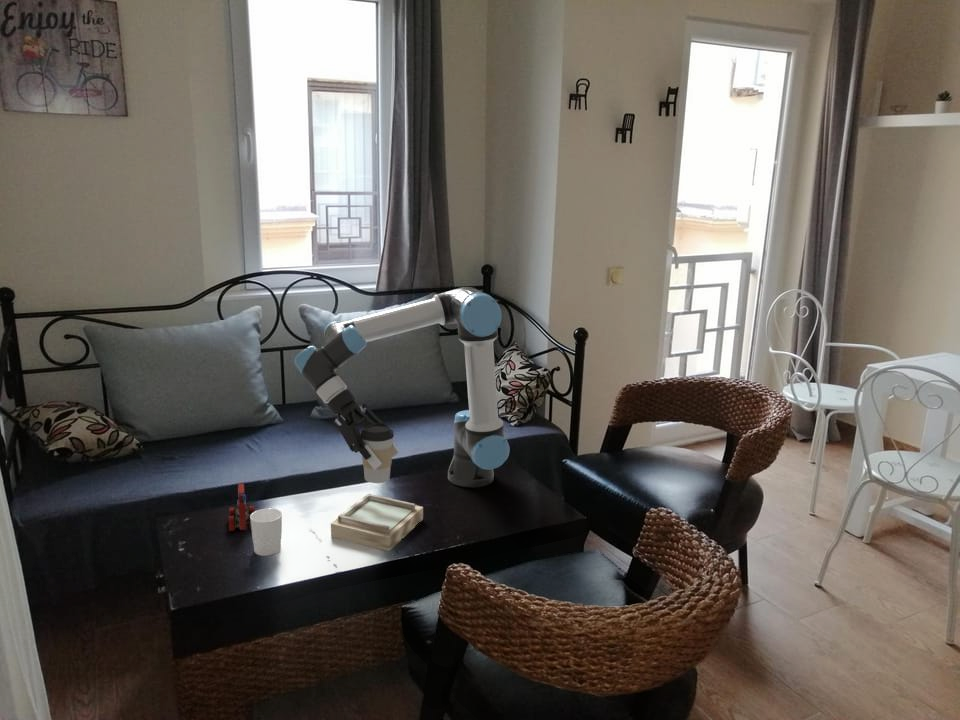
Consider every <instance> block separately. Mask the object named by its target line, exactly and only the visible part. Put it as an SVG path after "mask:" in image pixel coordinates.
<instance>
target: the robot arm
mask: <svg viewBox="0 0 960 720" xmlns="http://www.w3.org/2000/svg"><path fill="white" fill-rule="evenodd" d="M502 316H503V315H502V308H501V307H500V305H499V303H498V302H497V300H495V298H493V297H492V296H491V295H490V294H488V293H486V292H482V291H480V290H479V289H477V288H476V287H471V286H464V287H463V286H462V287H458V288H455V289H451V290H450V289H449V290H448V291H444V292H441V293H437V294H434V295H433V297H432V298H431V299H427V300H423V301H419V302H416V303H412V304H408V305H403V306H400V307H396V308H392V309H388V310H385V311H382V312H380V311H379V312H378V313H374V314H371V315H370V314H369V315H366V316H363V317H358V318H354V319H350V320H347V321H338V320H335V321H332V322H331V321H330V322H329V323H328V324H327V325H326V326H325V328H324V331H323V336H324V338H323V339H324V341H325V344H323V345H322V346H321V347H320V348H318V347H316V346H315V345H309V346H307V347H306V348H305V349H303V350H301V351H300V352H299V353H297V355H296V356H295V357H294V360H293V362H294V365H295V367H296V368H297V369H298V370H299V372H300V374H301V375H302V377H303V378H304V379H305V380H306V382H307V383H308V384H309V385H310V387H311V388H312V389H313V390H314V391H315V393H316V394H317V395H318V396H319V398H320V399H321V400H322V401H323V403H324V404H326V407H327V408H328V409H329V411H330V413H332V414H333V415H334V416H338V417H337V418H335V419H334V421H333V425H335V426H336V427H337V429H338V430H339V432H340V433H341V435H342V438H343V439H344V441H345V442H346V444H347V446H348V448H349V450H350V451H351V452H354V453H356V454H357V453H360V455H361V457H362V456H363V457H364V458H365V459H366V460H367V461H368V462H369V464H370V465H371V466H372V468H373V469H374V470H375V469H377V468H378V467H379V466H380V465H381V464H382V463H381V462H380V460H379V459H378V458H377V456H376V455H375V454H374V453H373V451H372V450H371V449H370V448H369V446H368V445H366V446H365V445H364V442H363V439H362V437H361V431H360V429H359V426H363V427H364V428H365V427H366V426H368V425H373V424H376V423H384V422H383V421H382V420H381V419H380V418H379V417H378V416H377V415H376V414H375V413H374V412H373V411H371V409H370V408H369V407H368V405H367V404H366V403H365V402H364V403H363V404H362V405H358V404H357V403H356V396H355V395H354V394H353V393H352V392H351V390H350V389H348V388H347V387H348V386H347V385H346V383H345V382H344V381H343V379H342V378H341V377H340V376H339V375H338V373H336V371H337V370H338V369H339V368H341V367H343V365H345V364H346V363H347V362H349V361H350V360H352V359H353V358H354V357H355V356H357V355H358V354H360V353H361V352H362V351H363V350H364V348H366V346H367V344H368V342H372V341H376V340H380V339H384V338H387V337H391V336H396V335H399V334H403V333H406V332H410V331H413V330H417V329H422V328H425V327H429V326H433V325H436V324H437V325H438V324H440V325H441V326H445V325H450V324H457V334H458V340H459V341H460V342H461V343H462V344H463V346H464V347H463V348H464V349H463V350H464V359H465V371H466V372H465V373H466V386H467V399H468V409H465V410H461V411H458V412H456V414H455V415H454V421H453V428H454V434H453V457H452V459H451V462H450V465H449V467H448V470H447V479H448V481H449V482H450V483H452V484H453V485H455V486H459V487H463V488H481V487H485V486H489V485H490V484H492V482H494V479H495V478H494V475H495V474H494V473H495V472H494V469H497V468H499V467H501V466H502V465H503V464H504V463H505V462H506V461H507V459H508V458H509V455H510V449H511V447H510V444H509V442H508V439H506V437H505V430H504V429H505V428H504V421H503V419H501V418H500V417H499V411H498V397H497V396H498V395H497V383H496V382H497V381H496V367H495V364H496V363H495V350H494V349H495V348H494V341H496V340H497V339H498V337H499V332H498V328H499V326H500V325H501V322H502ZM364 446H365V447H364ZM398 453H400V450H399V449H398V448H397V446H396V444H395V443H393V451H392V459H393V458H395V456H397V455H398Z"/></svg>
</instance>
